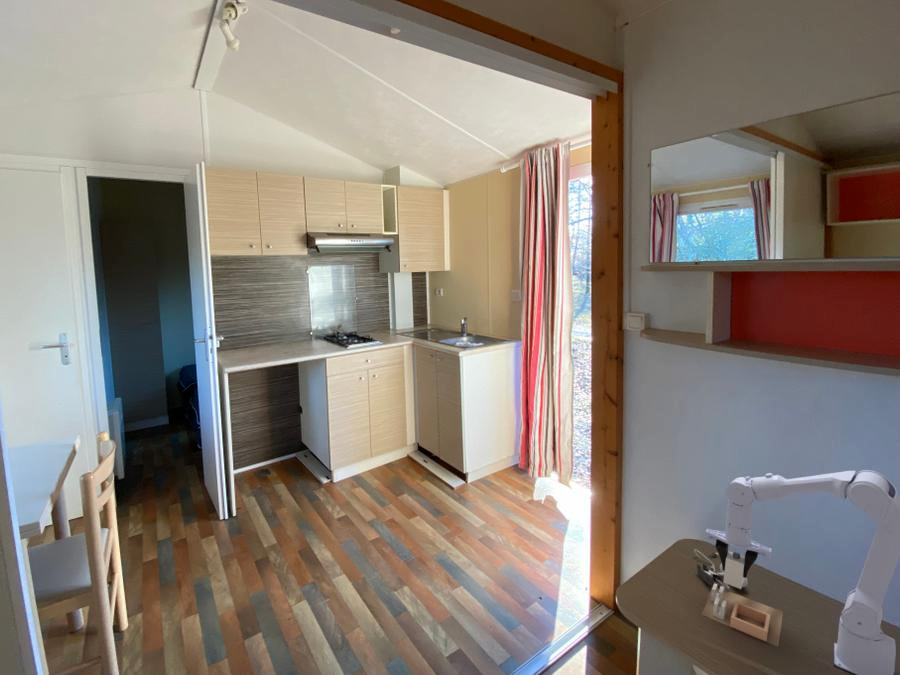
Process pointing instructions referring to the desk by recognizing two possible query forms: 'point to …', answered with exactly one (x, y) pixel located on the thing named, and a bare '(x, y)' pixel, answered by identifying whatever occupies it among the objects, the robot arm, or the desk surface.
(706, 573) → the clip-on lamp
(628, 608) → the desk surface
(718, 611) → the clips
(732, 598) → the board
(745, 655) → the desk surface
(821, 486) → the robot arm
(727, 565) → the connector plug
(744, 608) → the frame
